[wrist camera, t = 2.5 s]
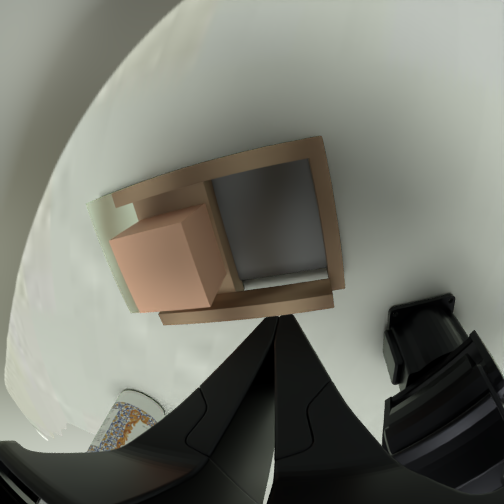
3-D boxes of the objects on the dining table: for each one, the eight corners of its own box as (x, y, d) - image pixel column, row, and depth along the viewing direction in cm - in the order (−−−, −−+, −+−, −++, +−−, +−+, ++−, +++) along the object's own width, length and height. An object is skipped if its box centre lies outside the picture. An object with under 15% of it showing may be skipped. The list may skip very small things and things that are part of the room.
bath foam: (174, 418, 32) (127, 534, 14) (141, 416, 34) (93, 516, 16) (145, 388, 30) (81, 514, 12) (113, 388, 32) (51, 493, 14)
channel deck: (318, 136, 16) (325, 135, 12) (341, 274, 20) (349, 305, 16) (100, 197, 20) (69, 211, 16) (140, 300, 24) (119, 326, 20)
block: (205, 202, 17) (181, 222, 13) (226, 273, 19) (210, 307, 15) (141, 219, 18) (108, 240, 14) (164, 282, 20) (139, 312, 16)
